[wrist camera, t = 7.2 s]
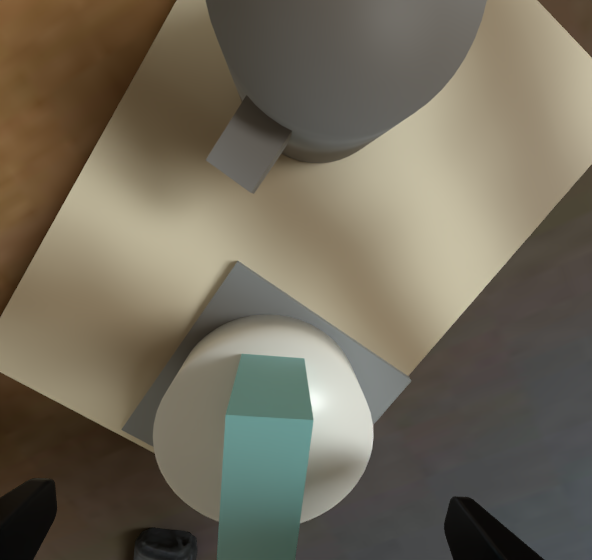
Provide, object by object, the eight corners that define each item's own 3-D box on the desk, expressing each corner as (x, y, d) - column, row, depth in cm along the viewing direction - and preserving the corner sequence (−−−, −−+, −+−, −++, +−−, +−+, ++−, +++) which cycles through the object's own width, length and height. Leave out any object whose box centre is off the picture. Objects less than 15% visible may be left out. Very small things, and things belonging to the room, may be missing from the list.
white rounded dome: (175, 469, 11) (108, 635, 7) (178, 306, 10) (97, 386, 5) (343, 477, 12) (380, 638, 7) (369, 322, 10) (433, 408, 6)
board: (282, 492, 13) (283, 668, 8) (8, 343, 11) (-213, 456, 6) (599, 118, 10) (899, 39, 5) (305, -177, 8) (343, -760, 3)
